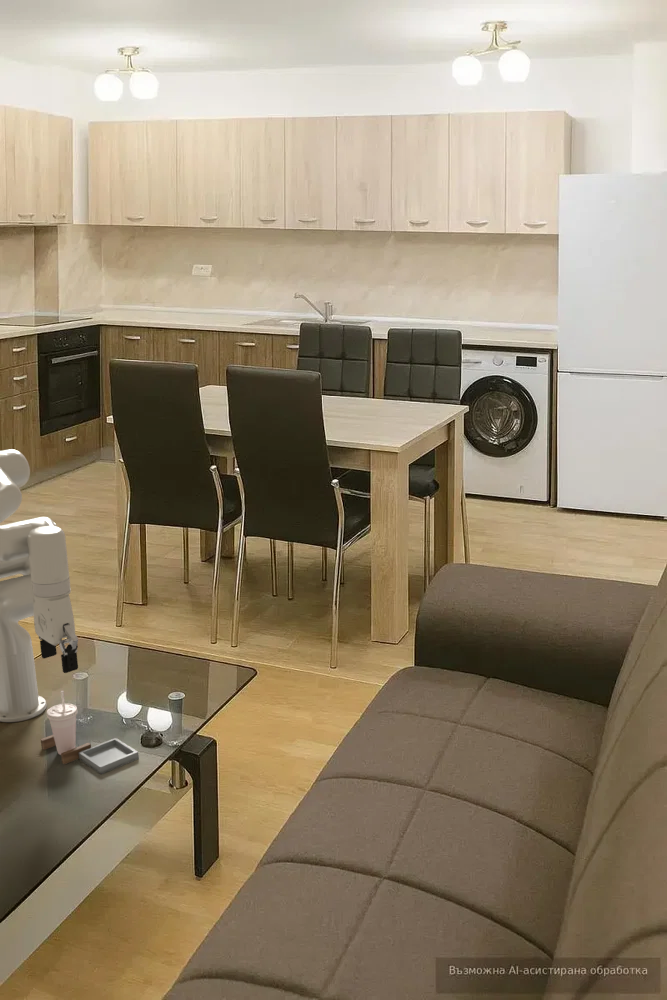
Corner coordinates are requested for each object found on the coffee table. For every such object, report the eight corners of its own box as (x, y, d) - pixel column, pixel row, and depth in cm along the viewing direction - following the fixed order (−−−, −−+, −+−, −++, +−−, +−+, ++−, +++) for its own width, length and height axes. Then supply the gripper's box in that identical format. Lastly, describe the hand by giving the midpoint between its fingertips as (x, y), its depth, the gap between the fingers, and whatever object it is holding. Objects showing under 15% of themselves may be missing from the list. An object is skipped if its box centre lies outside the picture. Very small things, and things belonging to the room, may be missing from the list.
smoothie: (74, 759, 233) (67, 698, 229) (46, 757, 234) (38, 697, 230) (86, 744, 239) (80, 685, 235) (59, 743, 240) (52, 683, 236)
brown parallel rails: (41, 748, 238) (40, 739, 237) (68, 738, 242) (67, 728, 241) (64, 764, 231) (63, 755, 230) (91, 753, 235) (90, 744, 234)
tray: (79, 759, 233) (78, 752, 232) (116, 744, 238) (115, 737, 238) (101, 774, 226) (100, 767, 226) (138, 758, 232) (138, 751, 231)
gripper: (16, 580, 229) (25, 656, 234) (53, 602, 217) (62, 682, 221) (49, 571, 234) (57, 646, 239) (88, 593, 221) (95, 671, 226)
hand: (59, 663), depth 230 cm, fingers open, 9 cm apart
